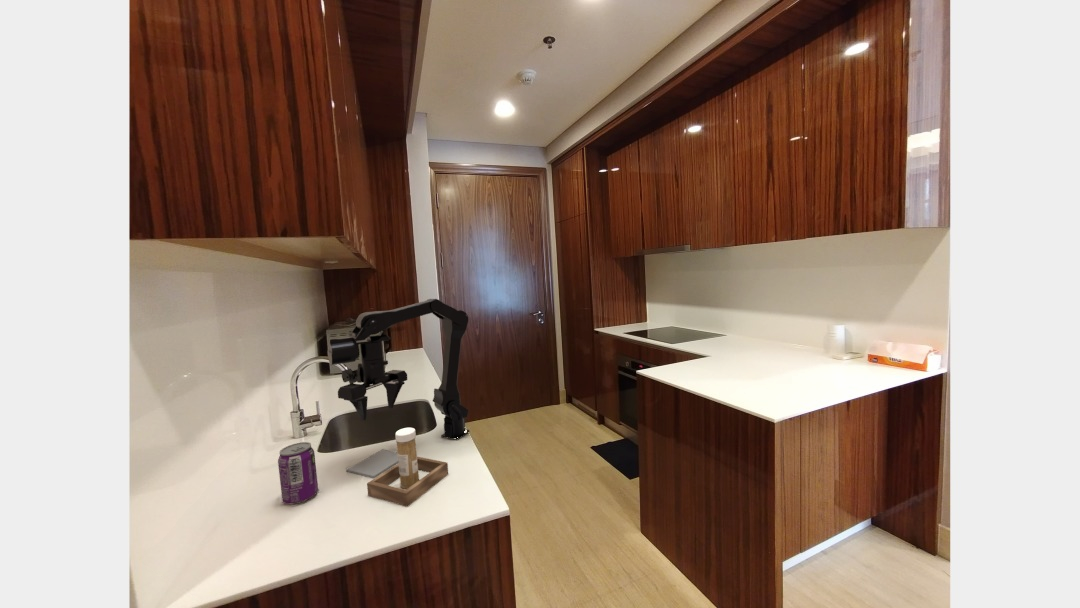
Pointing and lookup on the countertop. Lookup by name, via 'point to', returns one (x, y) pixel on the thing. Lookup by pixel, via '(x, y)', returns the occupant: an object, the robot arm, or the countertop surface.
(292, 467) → the beverage can
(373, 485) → the wooden frame
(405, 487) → the sprinkles bottle
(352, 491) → the countertop surface
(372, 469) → the mat
